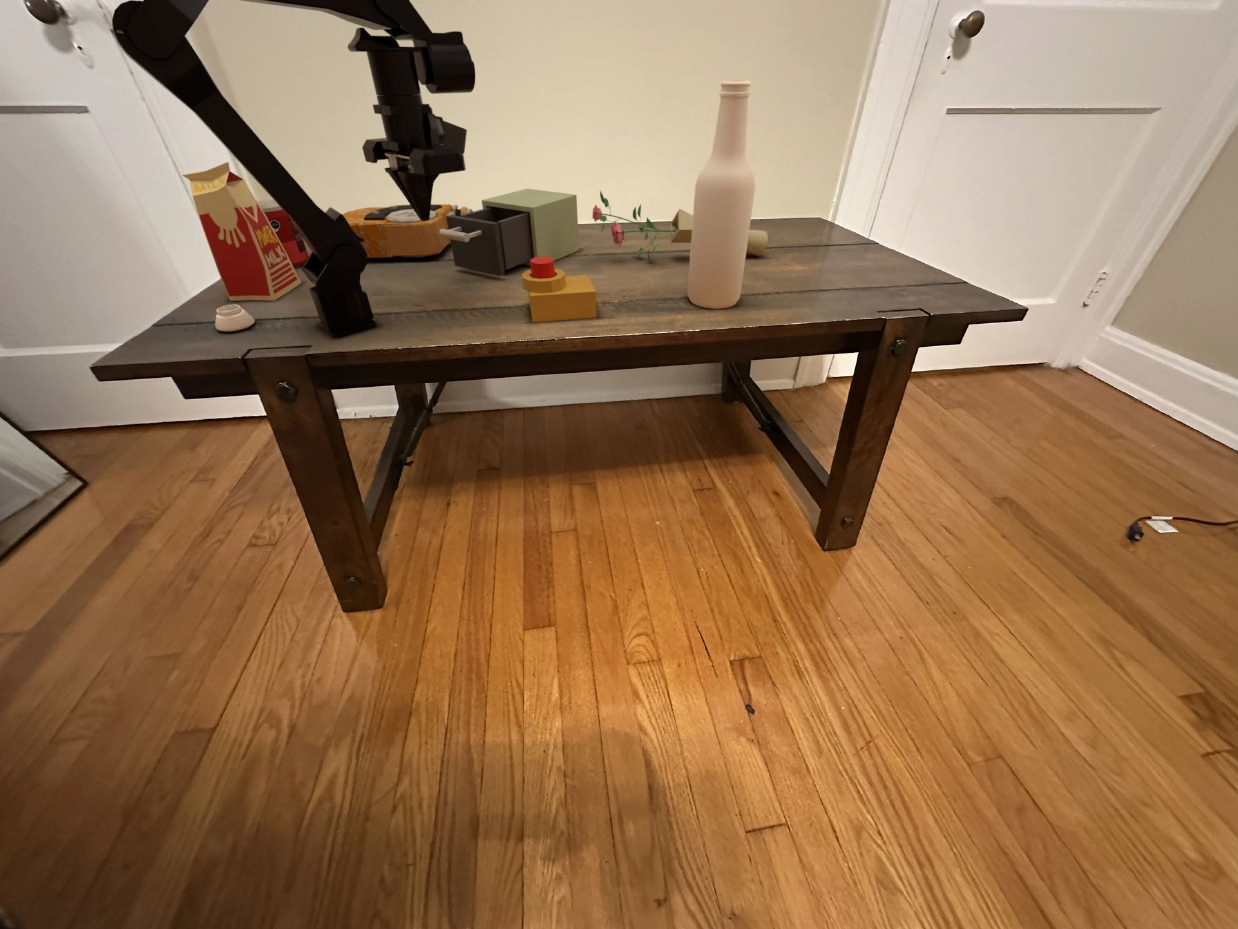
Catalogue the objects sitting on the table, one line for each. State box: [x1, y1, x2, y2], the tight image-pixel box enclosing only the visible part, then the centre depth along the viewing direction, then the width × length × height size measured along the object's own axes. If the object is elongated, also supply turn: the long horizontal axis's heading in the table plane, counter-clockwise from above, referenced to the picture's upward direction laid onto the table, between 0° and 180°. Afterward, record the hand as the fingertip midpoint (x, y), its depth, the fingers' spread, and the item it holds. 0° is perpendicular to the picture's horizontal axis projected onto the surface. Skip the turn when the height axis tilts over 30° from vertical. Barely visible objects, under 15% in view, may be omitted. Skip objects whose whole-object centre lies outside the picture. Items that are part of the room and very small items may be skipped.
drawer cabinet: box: [481, 188, 580, 267], centre depth 108 cm, size 14×13×11 cm
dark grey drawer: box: [439, 207, 534, 277], centre depth 99 cm, size 17×12×9 cm
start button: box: [530, 257, 555, 279], centre depth 81 cm, size 4×4×2 cm
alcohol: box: [686, 79, 756, 310], centre depth 80 cm, size 9×9×30 cm
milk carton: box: [181, 161, 302, 302], centre depth 87 cm, size 9×9×20 cm
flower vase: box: [591, 190, 769, 264], centre depth 106 cm, size 12×12×35 cm
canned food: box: [257, 199, 310, 269], centre depth 103 cm, size 8×8×11 cm
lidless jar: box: [214, 304, 255, 333], centre depth 80 cm, size 5×3×5 cm
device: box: [342, 203, 475, 259], centre depth 113 cm, size 23×8×30 cm
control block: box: [521, 268, 598, 323], centre depth 84 cm, size 11×8×6 cm
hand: (425, 220), depth 80 cm, fingers closed
